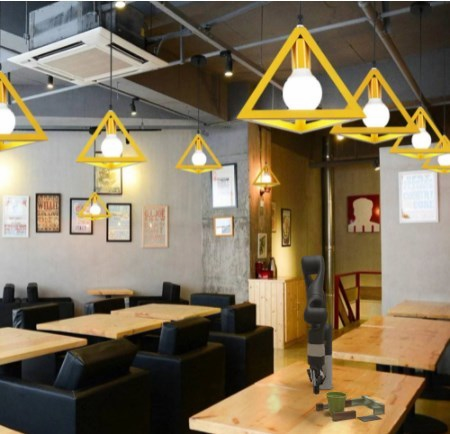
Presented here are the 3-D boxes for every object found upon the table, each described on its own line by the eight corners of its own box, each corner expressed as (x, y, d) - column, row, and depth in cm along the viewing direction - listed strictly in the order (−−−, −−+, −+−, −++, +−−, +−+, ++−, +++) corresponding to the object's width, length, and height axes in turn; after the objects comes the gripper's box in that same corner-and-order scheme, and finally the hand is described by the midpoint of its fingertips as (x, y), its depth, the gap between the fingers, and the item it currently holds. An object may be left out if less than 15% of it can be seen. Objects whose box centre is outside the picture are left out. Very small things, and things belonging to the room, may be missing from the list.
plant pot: (321, 412, 233) (321, 392, 233) (339, 409, 236) (339, 390, 237) (333, 418, 224) (332, 398, 224) (351, 416, 228) (351, 396, 228)
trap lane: (310, 406, 240) (310, 398, 240) (357, 400, 249) (357, 391, 249) (340, 425, 216) (340, 415, 217) (392, 417, 226) (392, 408, 226)
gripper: (301, 351, 233) (301, 390, 232) (316, 357, 220) (316, 399, 219) (315, 350, 235) (316, 388, 234) (331, 356, 223) (331, 397, 222)
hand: (316, 393), depth 227 cm, fingers closed
